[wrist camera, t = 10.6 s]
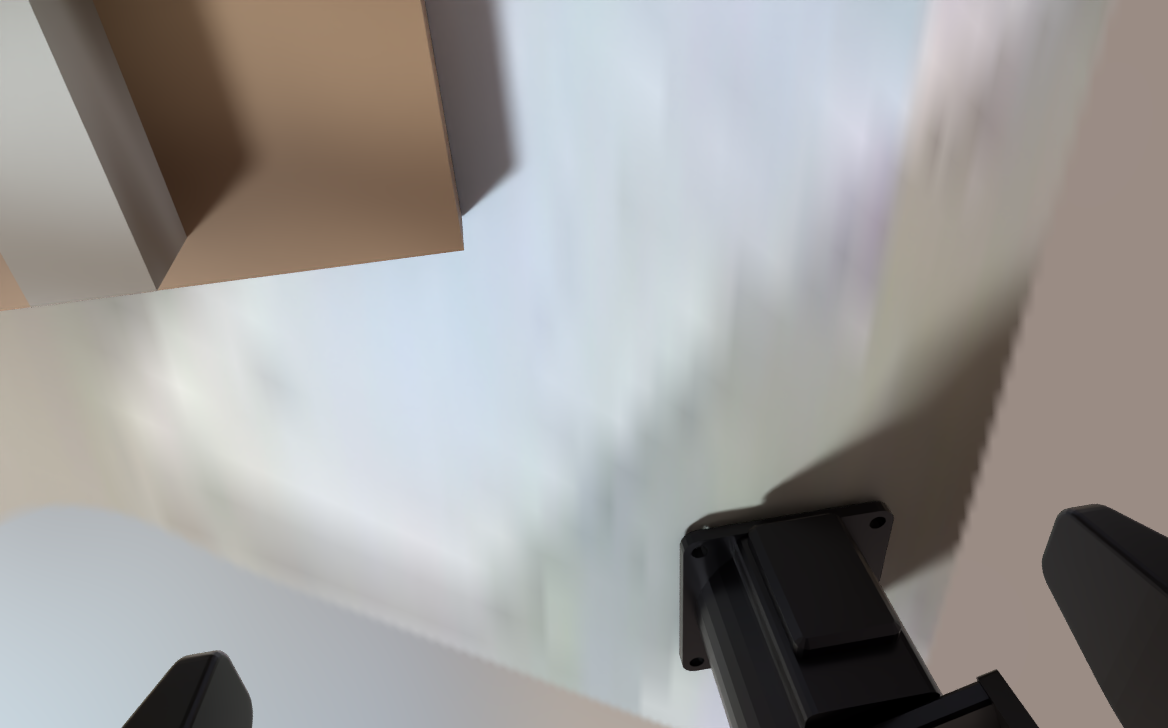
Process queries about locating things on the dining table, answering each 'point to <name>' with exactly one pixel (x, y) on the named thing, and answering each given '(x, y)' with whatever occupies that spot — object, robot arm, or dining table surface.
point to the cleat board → (215, 143)
